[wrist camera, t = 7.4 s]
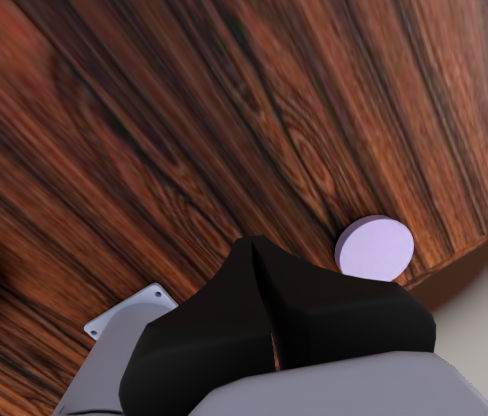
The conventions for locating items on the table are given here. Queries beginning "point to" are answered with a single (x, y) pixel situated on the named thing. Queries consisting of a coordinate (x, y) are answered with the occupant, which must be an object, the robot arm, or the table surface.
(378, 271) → the purple disc
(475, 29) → the table surface
